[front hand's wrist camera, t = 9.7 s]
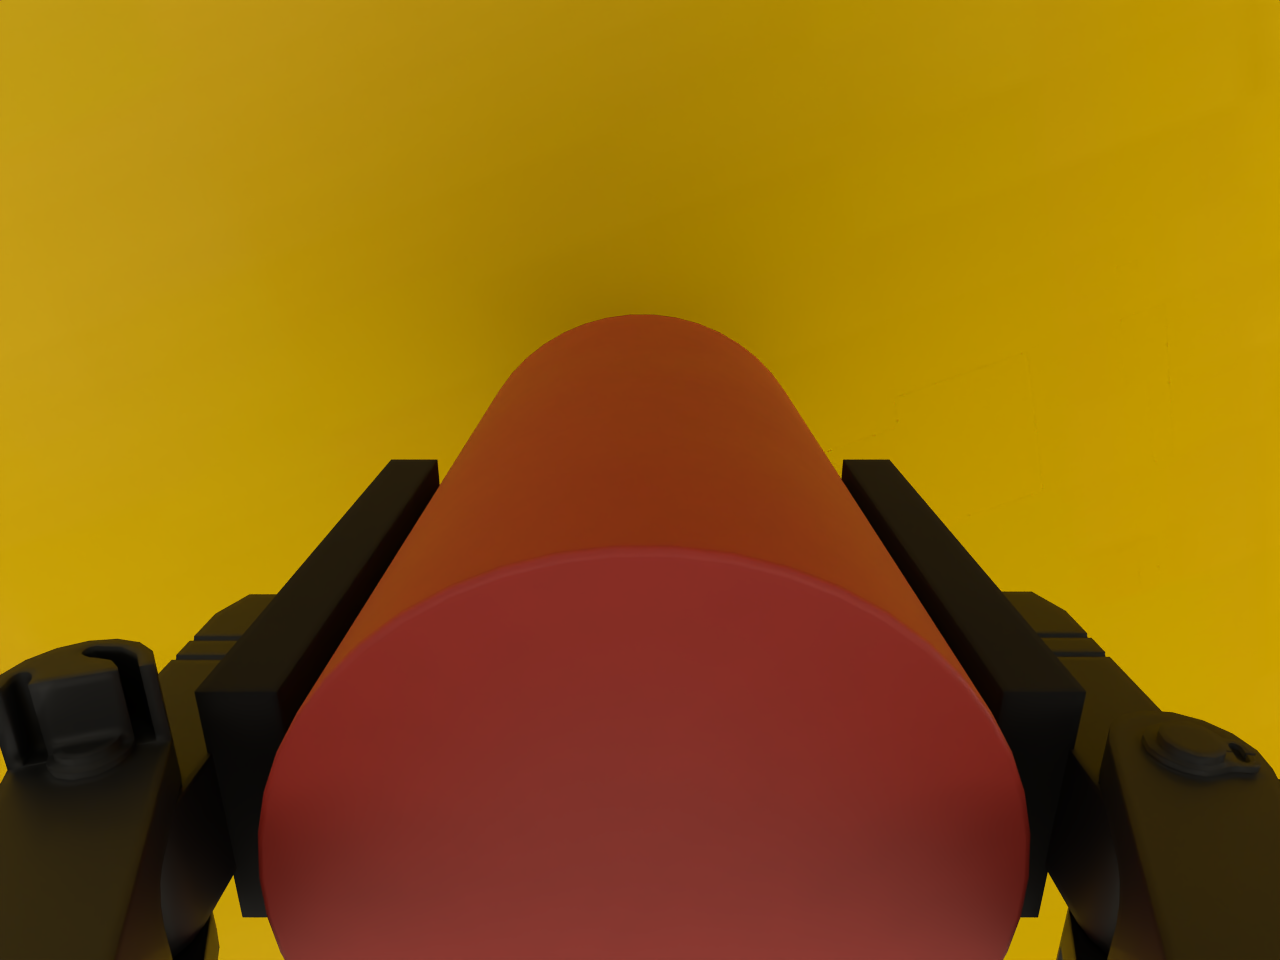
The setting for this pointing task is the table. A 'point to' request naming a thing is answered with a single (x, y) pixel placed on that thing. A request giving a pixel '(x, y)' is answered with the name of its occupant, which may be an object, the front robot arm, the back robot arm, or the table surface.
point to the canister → (643, 701)
